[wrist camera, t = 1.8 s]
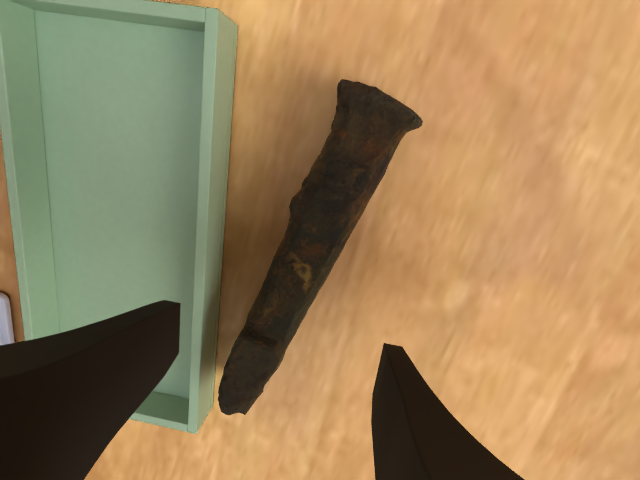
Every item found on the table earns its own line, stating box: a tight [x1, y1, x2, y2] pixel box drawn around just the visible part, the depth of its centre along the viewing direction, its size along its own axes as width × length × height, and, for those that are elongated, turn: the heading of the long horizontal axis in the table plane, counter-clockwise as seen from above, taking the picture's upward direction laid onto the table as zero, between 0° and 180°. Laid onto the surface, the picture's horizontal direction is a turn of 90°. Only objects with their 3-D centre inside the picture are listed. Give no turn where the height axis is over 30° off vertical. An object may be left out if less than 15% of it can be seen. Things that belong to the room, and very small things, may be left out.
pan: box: [0, 0, 238, 434], centre depth 21 cm, size 11×23×2 cm, turn 172°
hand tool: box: [218, 79, 423, 415], centre depth 19 cm, size 19×4×5 cm, turn 152°
